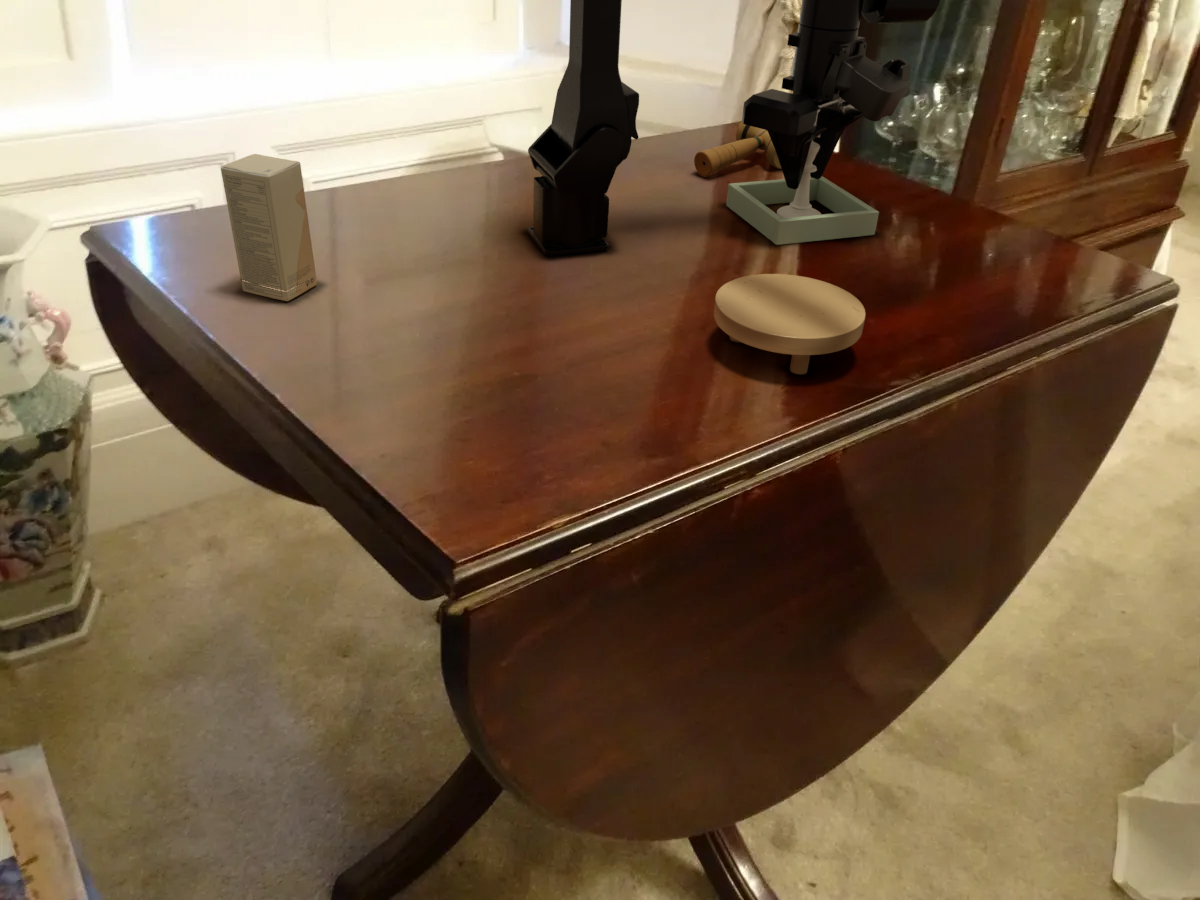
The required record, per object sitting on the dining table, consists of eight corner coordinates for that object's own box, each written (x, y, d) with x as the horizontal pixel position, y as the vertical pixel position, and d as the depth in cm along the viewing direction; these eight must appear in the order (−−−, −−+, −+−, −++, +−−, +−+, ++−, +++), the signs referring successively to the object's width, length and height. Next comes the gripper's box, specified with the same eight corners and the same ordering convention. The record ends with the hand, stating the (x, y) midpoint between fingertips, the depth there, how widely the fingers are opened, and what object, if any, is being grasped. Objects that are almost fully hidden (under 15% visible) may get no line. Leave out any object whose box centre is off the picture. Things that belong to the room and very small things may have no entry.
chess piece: (821, 230, 108) (837, 134, 103) (773, 225, 109) (787, 129, 103) (822, 214, 112) (837, 121, 107) (776, 209, 113) (789, 116, 107)
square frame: (776, 245, 104) (779, 221, 103) (725, 205, 113) (728, 183, 112) (874, 235, 108) (879, 211, 106) (818, 197, 117) (821, 175, 115)
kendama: (730, 198, 119) (834, 151, 127) (724, 143, 116) (830, 99, 124) (684, 190, 125) (786, 146, 133) (677, 138, 121) (782, 96, 130)
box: (319, 285, 91) (304, 161, 85) (287, 303, 88) (270, 176, 82) (271, 273, 93) (254, 150, 87) (238, 290, 90) (218, 164, 84)
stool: (789, 399, 78) (797, 352, 76) (680, 340, 86) (684, 295, 84) (886, 356, 85) (896, 312, 83) (777, 304, 92) (783, 262, 90)
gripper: (857, 54, 89) (827, 226, 98) (948, 26, 102) (914, 182, 110) (748, 32, 95) (729, 196, 104) (847, 8, 108) (822, 157, 116)
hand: (804, 183), depth 108 cm, fingers open, 4 cm apart
